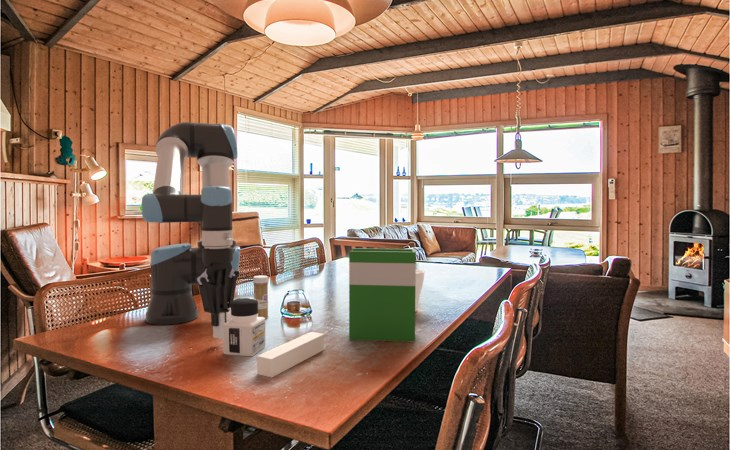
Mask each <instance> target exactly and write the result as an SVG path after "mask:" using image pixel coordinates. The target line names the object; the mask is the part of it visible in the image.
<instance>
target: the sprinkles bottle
mask: <svg viewBox="0 0 730 450" xmlns="http://www.w3.org/2000/svg"><path fill="white" fill-rule="evenodd" d="M252 279H253V280H252V281H253V298H254V299H256V300H257V301H258V317H265V320H266V319H268V318H269V295H268V289H269V288H268V284H269V276H267V275H254V276H253V278H252Z"/></svg>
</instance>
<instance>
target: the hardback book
mask: <svg viewBox="0 0 730 450" xmlns="http://www.w3.org/2000/svg"><path fill="white" fill-rule="evenodd" d="M351 249H352V250H349V251H348V254H349V255H348V259H349V260H348V261H349V262H348V266H349V267H348V268H349V269H348V270H349V271H348V277H349V278H348V280H349V281H348V283H349V284H348V285H349V286H348V289H349V290H348V297H349V299H348V300H349V301H348V303H349V305H348V312H349V313H348V314H349V318H348V319H349V322H348V323H349V324H348V326H349V327H348V337H349V338H348V339H349V340H354V341H375V340H390V341H389V342H405V341H415V342H416V312H415V282H416V268H417V267H416V261H417V260H416V258H417V255H416V253H417V251H416V248H367V247H366V248H361V247H358V248H357V247H355V248H354V247H352V248H351Z"/></svg>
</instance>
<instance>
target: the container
mask: <svg viewBox="0 0 730 450" xmlns="http://www.w3.org/2000/svg"><path fill="white" fill-rule="evenodd" d="M222 340H223V354H224V355H228V356H239V357H240V356H241V357H254V356H255V355H256V354H258V353H259V352H260V351H261V350H262V349H264V348H265V347H266V319H265V317H258V301H257V300H256V299H254V297H238V298H236V299H234V300H233V301H232V302H231V308H230V319H229V320H226V323H224V324H223V338H222Z"/></svg>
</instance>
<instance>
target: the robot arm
mask: <svg viewBox="0 0 730 450" xmlns="http://www.w3.org/2000/svg"><path fill="white" fill-rule="evenodd" d="M237 146H238V145H237V138H236V134H235V129H234V128H233V126H232V125H229V124H223V123H206V122H190V121H189V122H188V121H187V122H186V121H184V122H179V123H176V124H174V125H172V126H169V128H166V129H165V130H164V131H163V132H162V133H161V134H160V136H159V137H158V139H157V141H156V143H155V153H156V156H157V159H156V160H157V162H156V168H155V169H156V170H155V176H154V183H153V189H152V193H149V194H144V195H143V196H142V198H141V214H142V219H143V221H144V222H146V223H158V224H169V223H201V239H200V240H198V242H197V243H198V244H197V245H198V246H197V247H192V245H191V243H189V242H188V243H187V242H186V243H177V244H169V245H165V246H159V247H157V248H154V249H153V250H152V251H151V253H150V264H149V266H150V280H151V282H150V284H151V285H150V289H151V290H150V292H151V297H150V300H149V303H148V307H147V311H146V312H145V322H146V323H148V324H149V325H157V326H160V325H162V326H163V325H164V326H167V325H169V326H170V325H178V324H183V323H187V322H191V321H194V320H196V319H197V318H198V317H199V308H198V307H197V304H196V302H195V298H194V295H193V292H192V285H198V289H199V293H200V298H201V302H202V303H201V304H202V307H203V312H204V313H209V314H210V320H211V321H210V322H211V326H212V337H213V338H215V339H219V340H223V324H224V323H226V322H227V313H229V312H231V302H232V301H233V300H235V299H234V298H235V293H236V285H237V280H238V277H239V275H240V271H239V268H240V267H239V266H240V260H241V247H240V246H238V245H237V244H236V240H235V238H234V236H233V233H234V232H233V200H234V199H233V193H232V191H233V190H232V188H231V187H230V167H231V166H233V164H234V160H236V159H237V158H238V147H237ZM187 158H193V159H195V158H196V162H197V163H196V164H198V165H199V166H200V167H201V180H202V181H201V183H202V184H201V185H202V187H201V192H200V194H183V191H184V176H185V175H184V170H185V160H186V159H187Z"/></svg>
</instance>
